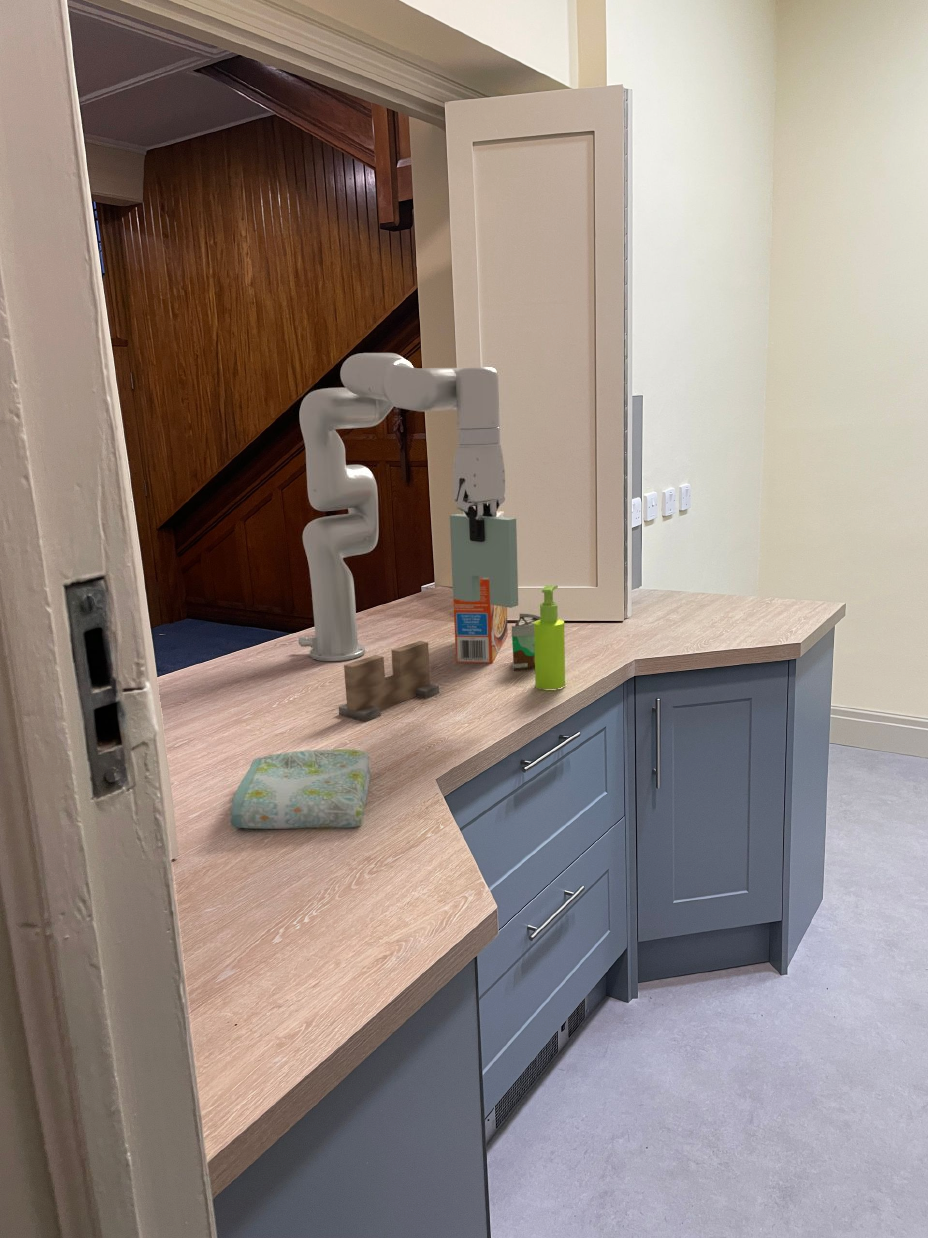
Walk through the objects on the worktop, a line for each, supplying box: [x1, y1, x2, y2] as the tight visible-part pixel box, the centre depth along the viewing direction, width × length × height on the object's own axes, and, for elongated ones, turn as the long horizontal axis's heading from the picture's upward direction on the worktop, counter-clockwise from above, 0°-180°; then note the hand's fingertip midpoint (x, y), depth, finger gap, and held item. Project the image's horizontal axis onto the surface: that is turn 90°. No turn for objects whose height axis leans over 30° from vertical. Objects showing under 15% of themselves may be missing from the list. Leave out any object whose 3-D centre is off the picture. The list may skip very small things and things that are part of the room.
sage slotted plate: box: [449, 513, 519, 609], centre depth 174 cm, size 2×14×16 cm, turn 49°
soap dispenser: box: [534, 584, 566, 690], centre depth 185 cm, size 6×7×20 cm
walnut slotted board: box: [338, 640, 440, 723], centre depth 179 cm, size 20×7×10 cm, turn 139°
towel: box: [229, 748, 371, 830], centre depth 138 cm, size 18×21×5 cm
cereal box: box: [450, 510, 509, 664], centre depth 212 cm, size 23×8×30 cm, turn 169°
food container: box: [511, 612, 540, 672], centre depth 201 cm, size 12×6×10 cm, turn 168°
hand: (482, 539), depth 173 cm, fingers closed on sage slotted plate, 2 cm apart
